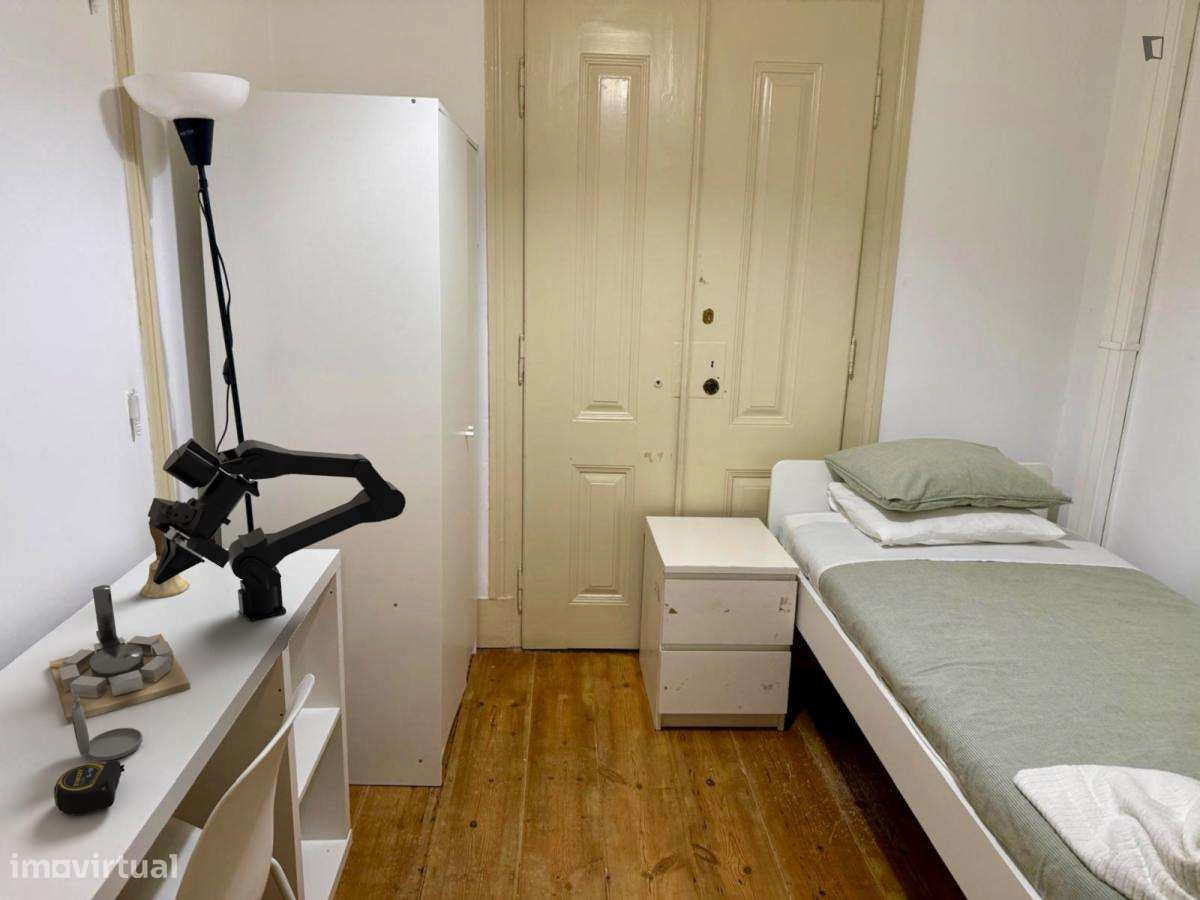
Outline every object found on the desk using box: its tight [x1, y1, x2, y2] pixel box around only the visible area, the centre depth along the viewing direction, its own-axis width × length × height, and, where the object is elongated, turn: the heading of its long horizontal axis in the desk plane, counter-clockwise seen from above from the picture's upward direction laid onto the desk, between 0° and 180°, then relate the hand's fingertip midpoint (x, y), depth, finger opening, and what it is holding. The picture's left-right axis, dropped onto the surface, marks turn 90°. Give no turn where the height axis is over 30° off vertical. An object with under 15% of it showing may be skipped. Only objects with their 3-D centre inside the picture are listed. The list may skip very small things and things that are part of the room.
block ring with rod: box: [59, 584, 174, 698], centre depth 131 cm, size 15×18×11 cm
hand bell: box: [140, 517, 190, 599], centre depth 160 cm, size 8×8×16 cm
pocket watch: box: [71, 689, 143, 762], centre depth 113 cm, size 8×8×10 cm
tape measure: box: [53, 759, 125, 816], centre depth 104 cm, size 7×7×4 cm
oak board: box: [49, 633, 191, 724], centre depth 132 cm, size 16×19×1 cm
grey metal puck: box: [90, 644, 144, 685], centre depth 131 cm, size 7×7×3 cm
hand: (155, 583), depth 140 cm, fingers closed
